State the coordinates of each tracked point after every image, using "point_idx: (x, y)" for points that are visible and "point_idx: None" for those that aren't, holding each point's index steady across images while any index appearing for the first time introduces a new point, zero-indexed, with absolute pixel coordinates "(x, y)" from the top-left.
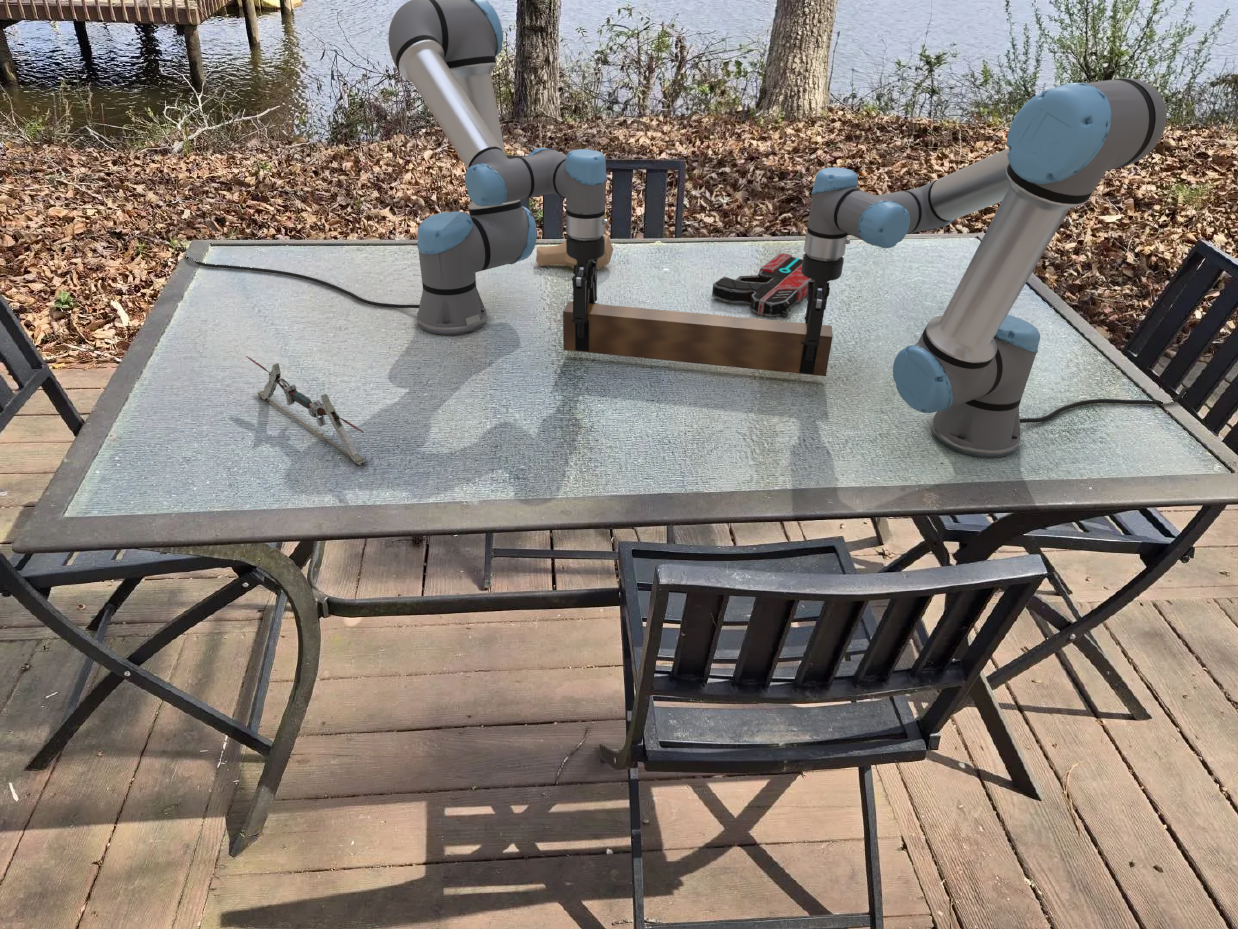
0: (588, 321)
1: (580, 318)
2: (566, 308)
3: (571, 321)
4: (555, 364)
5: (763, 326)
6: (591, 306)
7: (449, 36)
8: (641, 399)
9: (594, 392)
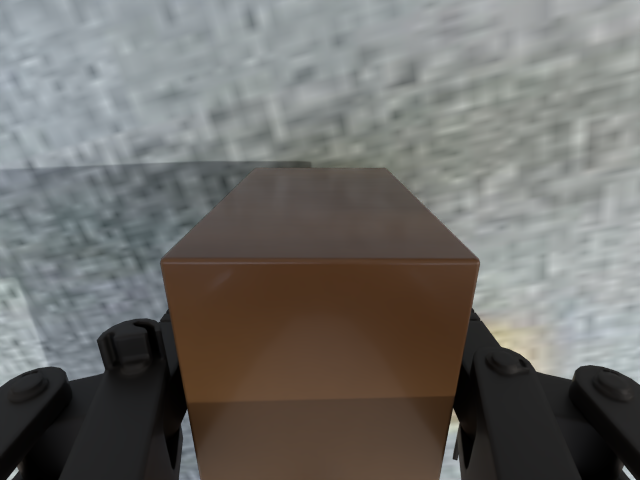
0: None
1: (20, 464)
2: (255, 280)
3: (117, 326)
4: (218, 129)
5: None
6: (367, 476)
7: None
8: None
9: (60, 321)
